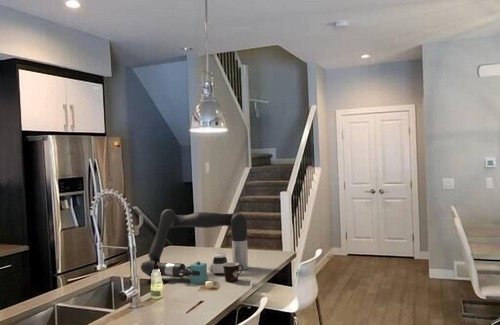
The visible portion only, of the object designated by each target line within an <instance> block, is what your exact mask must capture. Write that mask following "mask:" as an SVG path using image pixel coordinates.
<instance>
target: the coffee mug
mask: <svg viewBox="0 0 500 325" xmlns="http://www.w3.org/2000/svg"><path fill="white" fill-rule="evenodd" d="M239 266H242V265H239V263H234V262H233V261H232V262H227V263H225V264H223V268H224V274H225V275H224V280H225V283H229V284H230V283H231V284H232V283H237V282H238V281H239V275H240V274H241V273H242V272H243V271H244V270H243V266H242V269H241V270H239Z"/></svg>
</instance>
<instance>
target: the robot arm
mask: <svg viewBox="0 0 500 325" xmlns="http://www.w3.org/2000/svg"><path fill="white" fill-rule="evenodd" d="M247 220H248V219H247V218H246V216H245V214H243V213H241V212H234V213H218V212H217V213H216V212H205V211H204V212H203V211H200V212H194V213H191V214H176V212H175V211H174V210H173V209H172V208H167V209H164V210H163V211H162V212H161V213H160V218H159V224H158V227H157V231H156V234H155V236H154V238H153V241H152V244H151V246H150V249H149V252H148V257H149V259H148V260H144V261H143V262H142V263H141V265H140V270H141V271H142V273H144V274H145V275H146V276H148V277H151V273H152V270H153V266H154V261H157V263H158V266H159V269H160V272H161V276H162V277H169V278H170V277H171V278H184V277H188V278H190V276H193V275H194V276H199V275H200V272H199V271H190V265H189V266H186V265H185V263H180V262H170V263H169V262H161V256H162V254H163V251H164V248H165V245H166V240H167V236H168V234H169V230H170V229H171V228H173V229H174V228H198V229H199V228H200V229H201V228H203V229H205V228H206V229H208V228H209V229H210V228H211V229H212V228H216V227H217V228H218V227H231V250H232V262H234V263H239V265H242V266H243V270H242V271H245V270H247V269H249V260H248V259H249V254H248V253H249V252H248V222H247ZM242 266H239V271H241V269H242Z"/></svg>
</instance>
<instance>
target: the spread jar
mask: <svg viewBox="0 0 500 325" xmlns="http://www.w3.org/2000/svg"><path fill="white" fill-rule="evenodd" d="M226 255H227V254H226V253H225V252H216V253H214V254H213V259H212V261H211V262H210V263H209V266H208V271H209V272H211V273H213V275H215V276H225V274H224V268H223V264H225V263H228V259H227V257H226Z"/></svg>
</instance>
